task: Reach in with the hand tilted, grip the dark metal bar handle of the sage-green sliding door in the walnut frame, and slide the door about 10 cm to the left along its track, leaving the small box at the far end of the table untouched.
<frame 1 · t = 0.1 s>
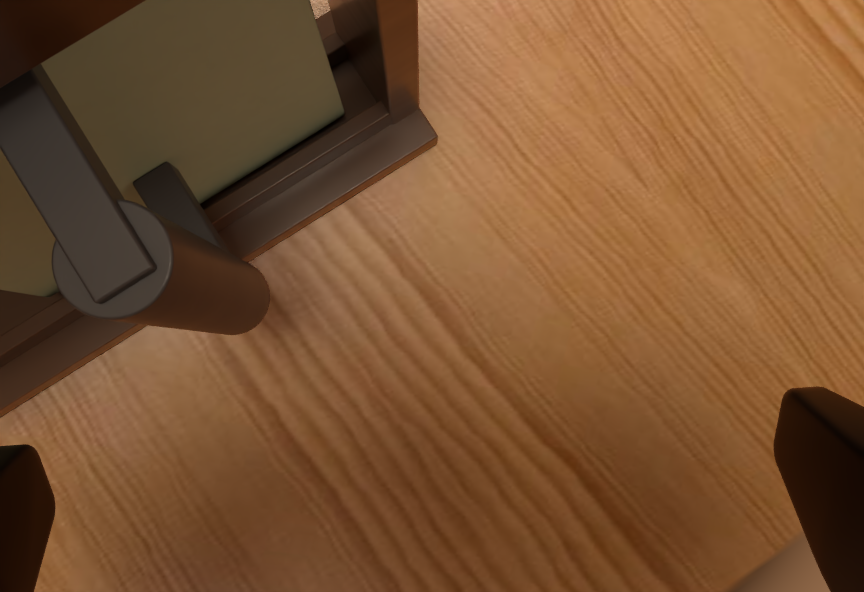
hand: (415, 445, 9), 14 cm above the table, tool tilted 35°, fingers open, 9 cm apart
door: (158, 213, 17), point 7 cm above the table, slide at 0.0 cm
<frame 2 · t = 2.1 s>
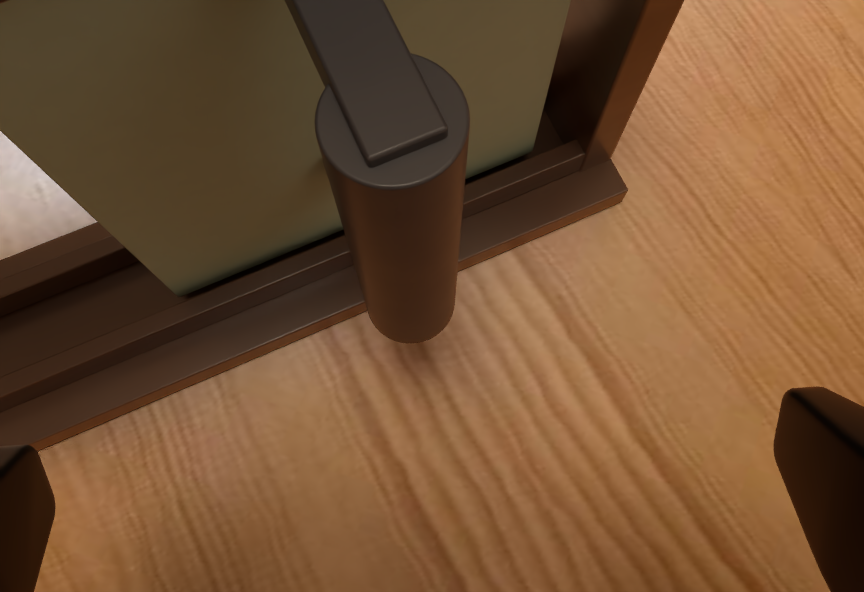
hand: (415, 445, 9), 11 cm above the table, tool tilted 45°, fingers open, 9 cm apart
door frame: (78, 336, 21), on the table
door: (365, 172, 14), point 7 cm above the table, slide at 0.0 cm
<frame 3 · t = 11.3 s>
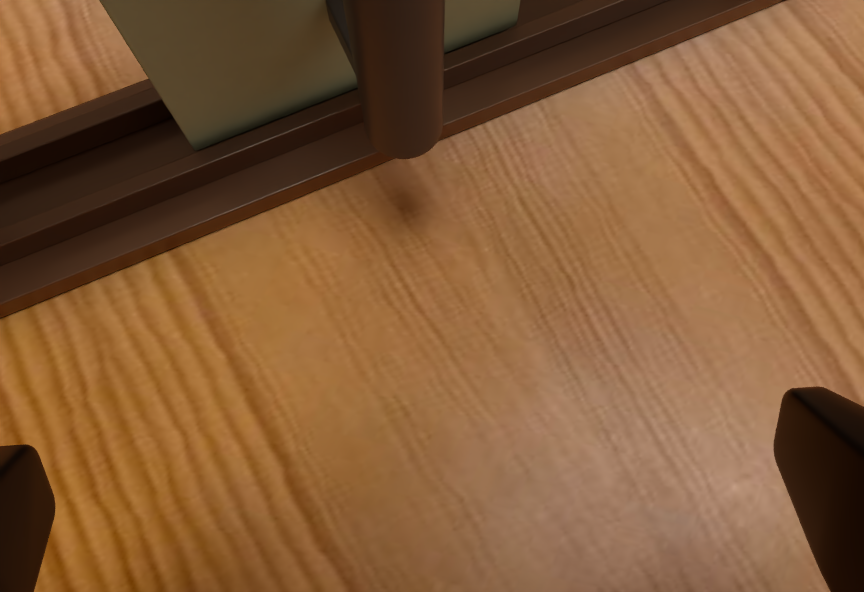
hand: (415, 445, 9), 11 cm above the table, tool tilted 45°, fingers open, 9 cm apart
door frame: (414, 69, 24), on the table
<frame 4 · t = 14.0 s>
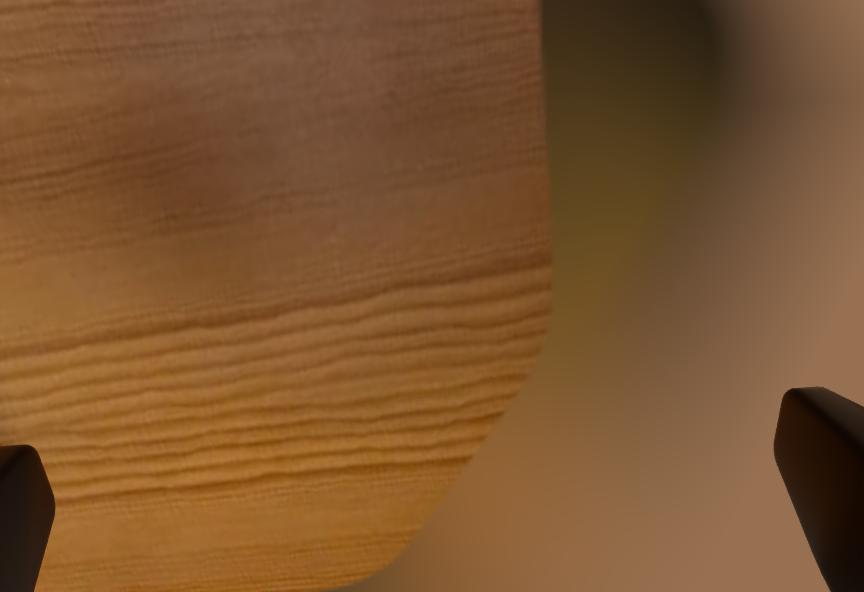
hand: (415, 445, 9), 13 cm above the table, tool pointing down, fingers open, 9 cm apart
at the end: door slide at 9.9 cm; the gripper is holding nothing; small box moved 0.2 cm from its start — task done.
